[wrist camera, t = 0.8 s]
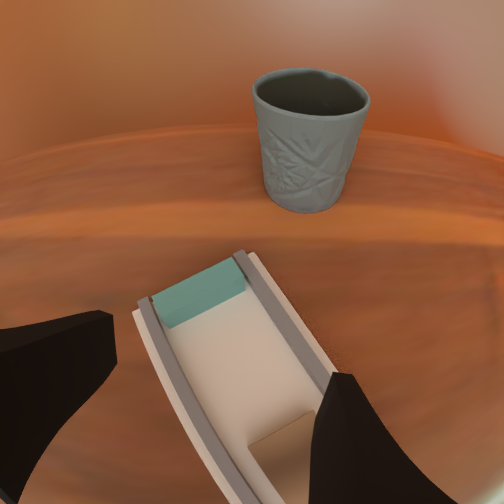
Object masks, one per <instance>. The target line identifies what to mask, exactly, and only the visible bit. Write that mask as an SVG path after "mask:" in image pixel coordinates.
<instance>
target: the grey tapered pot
mask: <svg viewBox="0 0 504 504" xmlns="http://www.w3.org/2000/svg"><path fill="white" fill-rule="evenodd" d="M252 96H253V102H254V108H255V113H256V116H257V118H258V122H257V127H258V135H259V141H260V145H261V155H262V169H263V177H264V185H265V189H266V191H267V193H268V195H269V197H270V198H271V199H272V200H273V201H274V202H275V203H276V204H278V205H279V206H281V207H283V208H285V209H287V210H290V211H293V212H298V213H316V212H320V211H323V210H326V209H328V208H330V207H331V206H332V205H333V204H335V203H336V201H337V200H338V199H339V197H340V195H341V192H342V189H343V186H344V183H345V179H346V178H345V175H346V173H347V172H348V169H349V167H350V165H351V160H352V159H353V156H354V153H355V147H356V145H357V141H358V139H359V135H360V132H361V129H362V126H363V124H364V121H365V118H366V115H367V113H368V110H369V106H370V102H371V100H370V96H369V94H368V93H367V91H366V90H365V89H364V88H363V87H362V86H361V85H359V84H358V83H356V82H355V81H353V80H351V79H350V78H347V77H345V76H342V75H340V74H337V73H333V72H330V71H326V70H321V69H314V68H286V69H282V70H277V71H273V72H270V73H267V74H265V75H263V76H261V77H260V78H258V79H257V80H256V81H255V82H254V84H253V87H252Z"/></svg>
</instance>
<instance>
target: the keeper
mask: <svg viewBox="0 0 504 504" xmlns="http://www.w3.org/2000/svg"><path fill="white" fill-rule="evenodd" d="M316 415H317V414H316V413H315V411H314V410H311V411H309V412H307V413H306V414H304V415H302V416H301V417H299V418H297V419H296V420H294V421H292V422H291V423H289V424H287V425H286V426H284V427H282V428H280V429H279V430H277V431H275V432H273V433H272V434H270V435H268V436H266V437H264V438H262V439H261V440H259V441H257V442H255V443H253V444H251V445H249V446H248V447H247V448H248V450H249V451H250V453H251V454H252V456H253V457H254V459H255V460H256V462H257V463H258V465H259V466H260V468H261V469H262V471H263V472H264V474H265V475H266V477H267V478H268V480H269V481H270V483H271V484H272V485H273V487H274V488H275V490H276V491H277V492H278V494H279V495H280V497H281V498H282V499H283V501H284V502H285V503H286V504H308V500H309V480H310V453H311V441H312V435H313V428H314V422H315V417H316Z"/></svg>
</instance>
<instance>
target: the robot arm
mask: <svg viewBox="0 0 504 504" xmlns="http://www.w3.org/2000/svg"><path fill="white" fill-rule="evenodd" d="M116 364H117V355H116V346H115V335H114V322H113V315H112V314H109V313H106V312H103V311H101V310H96V311H89V312H84V313H80V314H75V315H71V316H67V317H62V318H58V319H54V320H50V321H46V322H41V323H36V324H31V325H26V326H21V327H15V328H8V329H0V498H1V499H2V500H3V501H4V502H5V503H6V504H18V502H19V499H20V497H21V494H22V492H23V489H24V487H25V485H26V483H27V480H28V479H29V477H30V475H31V473H32V471H33V469H34V467H35V465H36V464H37V462H38V460H39V459H40V457H41V456H42V454H43V452H44V451H45V449H46V448H47V446H48V445H49V443H50V442H51V441H52V439H53V438H54V436H55V435H56V434H57V432H58V431H59V430H60V428H61V427H62V426H63V425H64V424H65V423H66V421H67V420H68V419H69V418H70V417H71V416H72V415H73V414H74V413H75V412H76V411H77V410H78V409H79V408H80V407H81V406H82V405H83V404H84V403H85V402H86V401H87V400H88V399H89V398H90V397H91V396H92V395H93V394H94V393H95V392H96V390H97V389H98V388H99V387H100V386H101V385H102V384H103V383H104V382H105V380H106V379H107V377H108V376H109V375H110V373H111V372H112V370H113V369H114V367H115V366H116ZM308 504H458V503H456V502H455V501H454V500H452V499H451V498H450V497H449V496H447V495H446V494H445V493H444V492H443V491H442V490H440V489H439V488H438V487H437V486H436V485H435V484H434V483H432V482H431V481H430V480H429V479H428V478H427V477H426V476H425V475H424V474H423V473H422V472H421V471H420V470H419V468H418V467H417V466H416V465H415V464H414V463H413V462H412V461H411V460H410V459H409V458H408V456H407V455H406V454H405V453H404V452H403V450H402V449H401V448H400V447H399V445H398V444H397V443H396V441H395V440H394V439H393V437H392V436H391V435H390V433H389V432H388V430H387V429H386V428H385V426H384V425H383V423H382V422H381V420H380V419H379V417H378V416H377V414H376V413H375V411H374V409H373V408H372V406H371V404H370V403H369V401H368V399H367V398H366V396H365V394H364V393H363V391H362V389H361V388H360V386H359V384H358V383H357V381H356V379H355V378H354V376H353V375H352V374H345V373H338V372H332V375H331V378H330V381H329V384H328V386H327V389H326V392H325V394H324V397H323V400H322V402H321V405H320V407H319V410H318V412H317V415H316V417H315V422H314V428H313V435H312V441H311V453H310V480H309V500H308Z"/></svg>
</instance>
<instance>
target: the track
mask: <svg viewBox="0 0 504 504" xmlns="http://www.w3.org/2000/svg"><path fill="white" fill-rule="evenodd" d="M233 259H234V260H233ZM151 297H152V299H153V302H151V301H150V299H149V298H148V297H145V298H143V299H141V300H139V301H137V303H138V306H139V309H137V310H135V311H133V312H132V314H133V317H134V319H135V322H136V325H137V327H138V330H139V332H140V335H141V337H142V340H143V342H144V345H145V347H146V349H147V352H148V354H149V357H150V359H151V361H152V363H153V366H154V368H155V370H156V372H157V375H158V377H159V379H160V381H161V383H162V385H163V388H164V390H165V392H166V394H167V396H168V398H169V400H170V402H171V404H172V406H173V408H174V410H175V412H176V414H177V416H178V418H179V420H180V422H181V423H182V425H183V427H184V429H185V431H186V433H187V435H188V436H189V438H190V440H191V442H192V444H193V445H194V447H195V449H196V450H197V452H198V454H199V456H200V457H201V459H202V461H203V462H204V464H205V466H206V467H207V469H208V471H209V472H210V474H211V475H212V477H213V478H214V480H215V482H216V483H217V485H218V486H219V488H220V489H221V491H222V492H223V494H224V495H225V497H226V498H227V500H228V501H229V503H230V504H286V503H285V502H284V501H283V499H282V498H281V497H280V495H279V494H278V492H277V491H276V490H275V488H274V487H273V485H272V484H271V483H270V481H269V480H268V478H267V477H266V475H265V474H264V472H263V471H262V469H261V468H260V466H259V465H258V463H257V462H256V460H255V459H254V457H253V456H252V454H251V453H250V451H249V450H248V448H247V447H248V446H249V445H251V444H253V443H255V442H257V441H259V440H261V439H262V438H264V437H266V436H268V435H270V434H272V433H273V432H275V431H277V430H279V429H280V428H282V427H284V426H286V425H287V424H289V423H291V422H292V421H294V420H296V419H297V418H299V417H301V416H302V415H304V414H306V413H307V412H309V411H311V410H314V411H315V413H316V414H317V412H318V410H319V407H320V405H321V402H322V400H323V397H324V394H325V392H326V389H327V386H328V384H329V381H330V378H331V375H332V372H338V371H337V369H336V368H335V367H334V365H333V364H332V362H331V361H330V359H329V358H328V357H327V355H326V354H325V352H324V351H323V349H322V348H321V347H320V345H319V344H318V342H317V341H316V339H315V338H314V337H313V335H312V334H311V332H310V331H309V330H308V328H307V327H306V325H305V324H304V322H303V321H302V320H301V318H300V317H299V315H298V314H297V312H296V311H295V310H294V308H293V307H292V305H291V304H290V303H289V301H288V300H287V298H286V297H285V295H284V294H283V293H282V291H281V290H280V288H279V287H278V285H277V284H276V283H275V281H274V280H273V278H272V277H271V276H270V274H269V273H268V271H267V270H266V268H265V267H264V266H263V264H262V263H261V261H260V260H259V258H258V257H257V256H256V254H255V253H254V252H252V253H250V254H248V255H247V254H246V252H245V251H244V249H242V250H240V251H238V252H235V253H233V258H232V257H230V258H228V259H226V260H224V261H222V262H220V263H218V264H216V265H214V266H212V267H210V268H208V269H206V270H204V271H201V272H199V273H197V274H195V275H193V276H191V277H189V278H187V279H185V280H183V281H181V282H179V283H177V284H175V285H173V286H171V287H169V288H167V289H165V290H163V291H161V292H159V293H157V294H155V295H153V296H151ZM338 373H339V372H338Z"/></svg>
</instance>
